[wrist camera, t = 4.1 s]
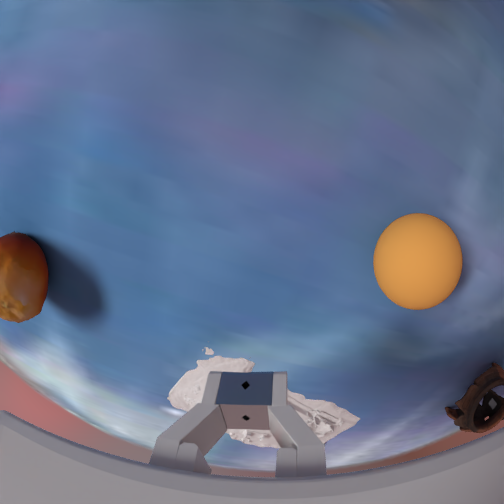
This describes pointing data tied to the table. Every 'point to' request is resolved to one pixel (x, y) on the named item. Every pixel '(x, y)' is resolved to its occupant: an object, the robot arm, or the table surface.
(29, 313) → the fruit
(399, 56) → the table surface
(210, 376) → the robot arm
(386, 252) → the ball
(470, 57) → the table surface
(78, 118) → the table surface
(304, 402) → the terrain model
